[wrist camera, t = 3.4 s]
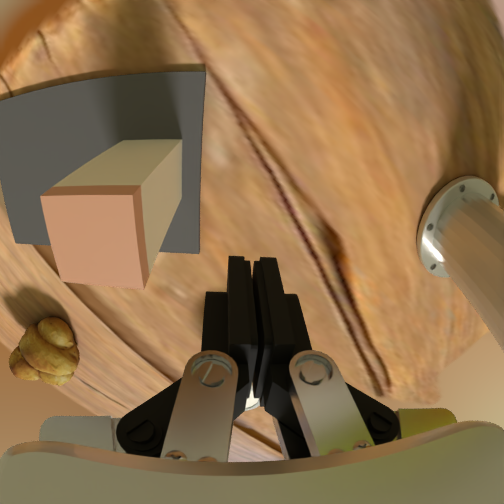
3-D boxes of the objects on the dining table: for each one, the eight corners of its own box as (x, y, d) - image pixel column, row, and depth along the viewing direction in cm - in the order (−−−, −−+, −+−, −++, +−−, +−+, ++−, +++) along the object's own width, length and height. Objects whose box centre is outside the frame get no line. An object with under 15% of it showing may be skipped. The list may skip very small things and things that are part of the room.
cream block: (182, 139, 22) (132, 195, 11) (181, 197, 24) (143, 289, 14) (123, 140, 21) (40, 196, 11) (126, 196, 24) (61, 281, 14)
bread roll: (46, 297, 31) (19, 342, 24) (102, 341, 35) (85, 389, 28) (22, 333, 35) (2, 370, 28) (68, 368, 39) (53, 407, 32)
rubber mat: (206, 72, 19) (205, 71, 19) (199, 250, 28) (199, 254, 27) (-4, 102, 17) (-8, 103, 17) (18, 240, 26) (15, 243, 25)
